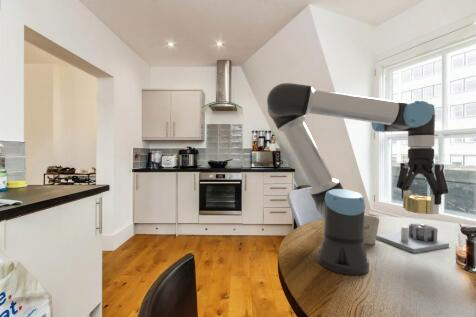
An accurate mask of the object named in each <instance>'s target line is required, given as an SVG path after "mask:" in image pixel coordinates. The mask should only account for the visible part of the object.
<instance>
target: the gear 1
mask: <svg viewBox="0 0 476 317" xmlns="http://www.w3.org/2000/svg"><path fill="white" fill-rule="evenodd" d="M403 209H404V210H405V211H407V212H410V213H413V214H420V215H432V214H431V196H425V195H411V196H404V208H403Z"/></svg>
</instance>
